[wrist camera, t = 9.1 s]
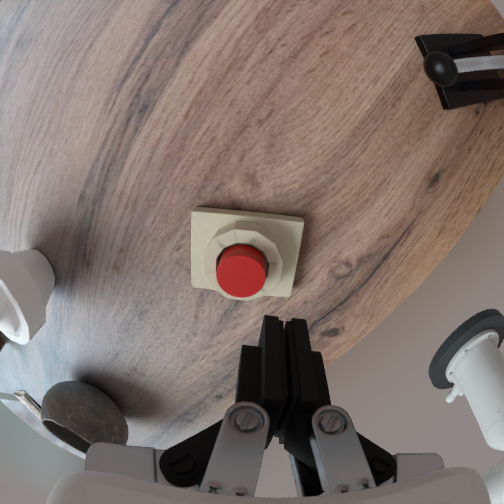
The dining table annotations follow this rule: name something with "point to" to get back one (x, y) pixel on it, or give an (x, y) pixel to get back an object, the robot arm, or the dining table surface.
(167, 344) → the dining table surface
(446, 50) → the bracket
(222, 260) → the button
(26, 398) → the newspaper
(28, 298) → the potted plant
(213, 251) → the button box
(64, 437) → the bowl
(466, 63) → the lever
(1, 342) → the food container
